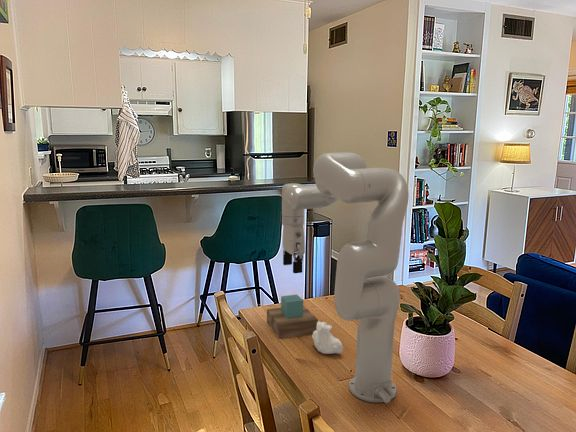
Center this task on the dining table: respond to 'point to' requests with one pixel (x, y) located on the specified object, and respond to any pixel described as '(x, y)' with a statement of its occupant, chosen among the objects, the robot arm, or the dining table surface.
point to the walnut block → (291, 323)
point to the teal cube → (291, 306)
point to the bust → (326, 339)
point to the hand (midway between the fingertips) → (292, 268)
